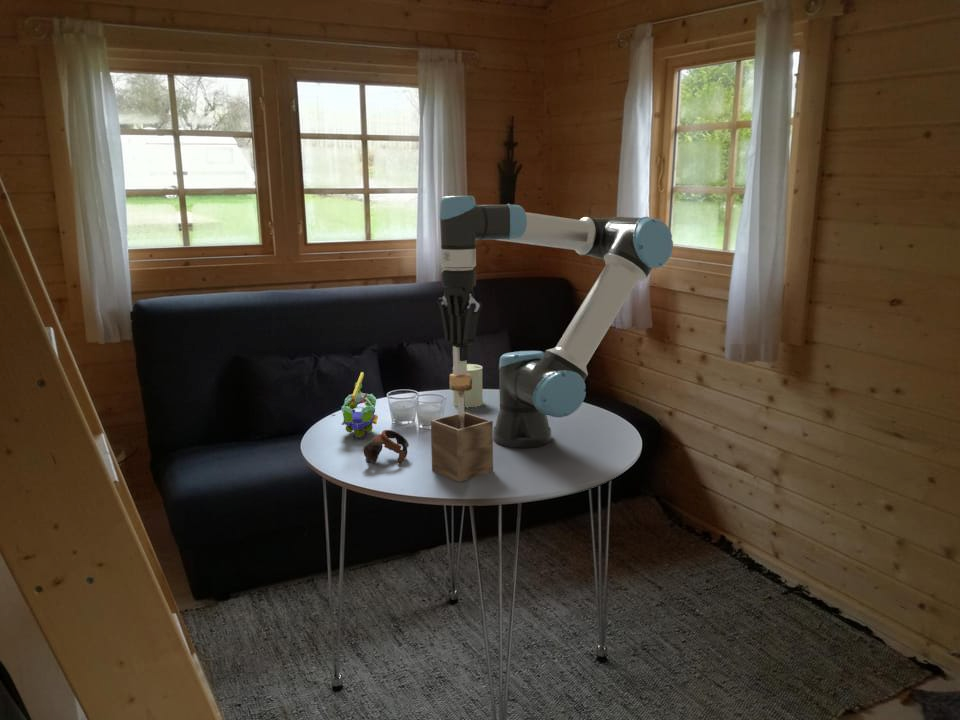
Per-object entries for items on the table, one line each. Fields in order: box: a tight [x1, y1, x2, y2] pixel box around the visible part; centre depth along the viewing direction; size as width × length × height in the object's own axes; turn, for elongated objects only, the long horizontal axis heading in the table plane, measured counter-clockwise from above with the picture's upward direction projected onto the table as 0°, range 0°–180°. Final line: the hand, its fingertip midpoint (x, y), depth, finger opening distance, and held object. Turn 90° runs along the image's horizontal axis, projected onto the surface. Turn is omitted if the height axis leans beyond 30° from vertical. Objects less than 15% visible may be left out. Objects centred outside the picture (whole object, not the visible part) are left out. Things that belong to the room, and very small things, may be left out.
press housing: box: [430, 411, 494, 483], centre depth 166 cm, size 10×10×12 cm
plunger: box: [449, 373, 472, 429], centre depth 164 cm, size 8×8×16 cm
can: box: [452, 363, 484, 409], centre depth 221 cm, size 9×9×12 cm
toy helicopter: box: [341, 371, 379, 440], centre depth 192 cm, size 25×9×15 cm, turn 4°
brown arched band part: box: [362, 429, 410, 464], centre depth 173 cm, size 12×10×8 cm
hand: (460, 374), depth 162 cm, fingers closed
